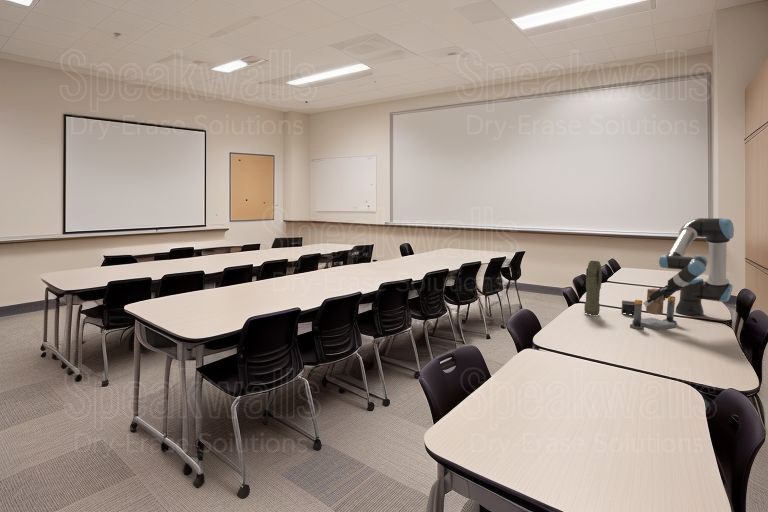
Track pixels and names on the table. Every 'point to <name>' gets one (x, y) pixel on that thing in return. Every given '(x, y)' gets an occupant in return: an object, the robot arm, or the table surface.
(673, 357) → the table surface
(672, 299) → the post
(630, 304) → the electrical switch
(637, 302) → the post
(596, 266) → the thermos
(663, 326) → the plate
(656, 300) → the block
